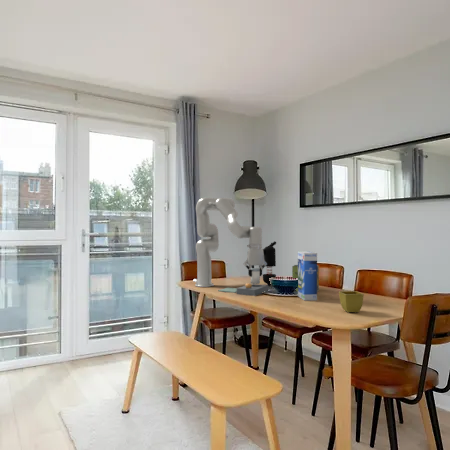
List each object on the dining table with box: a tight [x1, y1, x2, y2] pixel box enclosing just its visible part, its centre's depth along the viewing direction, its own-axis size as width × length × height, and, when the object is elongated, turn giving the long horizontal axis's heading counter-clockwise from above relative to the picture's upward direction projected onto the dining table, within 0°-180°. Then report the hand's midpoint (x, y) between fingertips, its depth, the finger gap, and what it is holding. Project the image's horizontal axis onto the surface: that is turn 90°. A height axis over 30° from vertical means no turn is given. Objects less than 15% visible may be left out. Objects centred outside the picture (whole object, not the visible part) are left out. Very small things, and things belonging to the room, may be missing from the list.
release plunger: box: [245, 282, 252, 289], centre depth 228 cm, size 4×4×6 cm
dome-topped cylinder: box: [250, 267, 261, 285], centre depth 237 cm, size 6×6×9 cm
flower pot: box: [338, 290, 365, 313], centre depth 180 cm, size 9×9×9 cm
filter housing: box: [236, 284, 270, 297], centre depth 233 cm, size 12×19×4 cm, turn 148°
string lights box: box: [297, 250, 318, 302], centre depth 214 cm, size 13×8×26 cm, turn 5°
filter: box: [262, 241, 277, 287], centre depth 258 cm, size 14×9×30 cm
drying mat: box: [217, 287, 238, 294], centre depth 241 cm, size 12×12×1 cm
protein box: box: [291, 264, 320, 293], centre depth 240 cm, size 10×15×16 cm
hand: (255, 275), depth 237 cm, fingers closed on dome-topped cylinder, 5 cm apart
